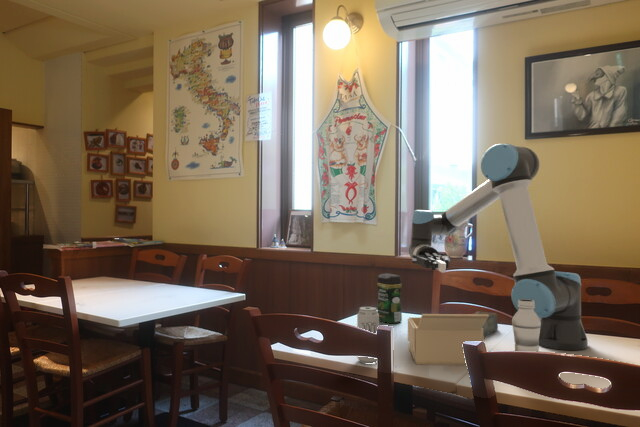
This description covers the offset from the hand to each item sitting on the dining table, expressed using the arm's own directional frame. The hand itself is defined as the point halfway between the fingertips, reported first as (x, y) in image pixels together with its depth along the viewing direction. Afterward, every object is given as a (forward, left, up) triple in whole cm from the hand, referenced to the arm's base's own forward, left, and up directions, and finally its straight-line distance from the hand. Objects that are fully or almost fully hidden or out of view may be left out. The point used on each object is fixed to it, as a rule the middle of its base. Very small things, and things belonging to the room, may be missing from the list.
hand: (443, 267), depth 145 cm
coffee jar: (+12, -41, -25) cm, 50 cm away
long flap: (+1, +18, -13) cm, 22 cm away
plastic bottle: (-15, +27, -25) cm, 40 cm away
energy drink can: (+23, +12, -25) cm, 37 cm away
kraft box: (+1, +7, -25) cm, 26 cm away
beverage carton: (-16, -23, -26) cm, 38 cm away
